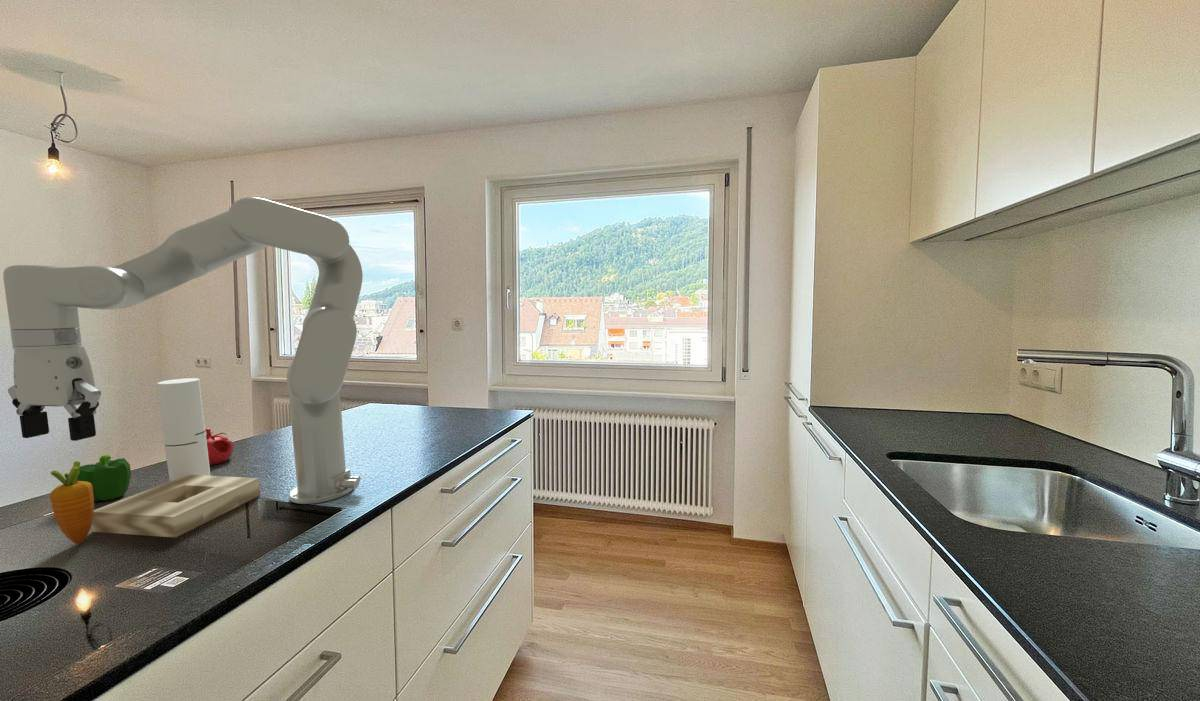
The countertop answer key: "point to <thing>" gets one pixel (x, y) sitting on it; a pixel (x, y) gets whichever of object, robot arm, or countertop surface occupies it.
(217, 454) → the pomegranate
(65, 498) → the carrot
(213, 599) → the countertop surface
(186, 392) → the cylindrical container
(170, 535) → the maple block
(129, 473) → the bell pepper
